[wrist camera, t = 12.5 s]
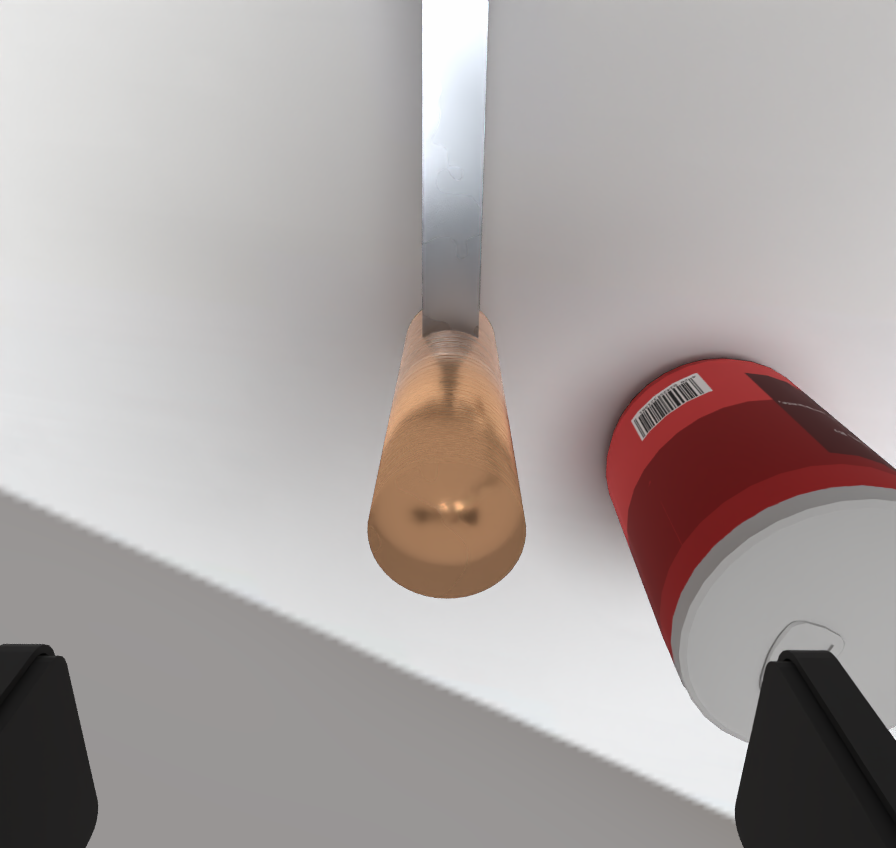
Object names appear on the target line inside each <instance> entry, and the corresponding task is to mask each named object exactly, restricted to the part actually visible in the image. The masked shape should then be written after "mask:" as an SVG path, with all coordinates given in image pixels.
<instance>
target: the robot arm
mask: <svg viewBox="0 0 896 848" xmlns="http://www.w3.org/2000/svg"><path fill="white" fill-rule="evenodd" d="M97 814H98V800H97V796H96V791H95V788H94V783H93V779H92V774H91V769H90V765H89V760H88V756H87V751H86V747H85V743H84V738H83V734H82V730H81V725H80V720H79V716H78V711H77V708H76V703H75V698H74V694H73V689H72V685H71V680H70V676H69V672H68V667H67V663H66V661H65V659H64V658H63V657H62V656H55V654H54V651H53V649H52V648H51V647H50V646H49V645H45V644H3V645H0V848H86V846H87V844H88V842H89V840H90V837H91V835H92V833H93V830H94V828H95V825H96V821H97ZM735 820H736V826H737V831H738V834H739V837H740V840H741V842H742V845H743V847H744V848H896V740H895V739H894V738H893V736H892V735H891V733H890V732H889V731H888V729H887V728H886V726H885V725H884V724H883V722H882V721H881V719H880V718H879V717H878V715H877V714H876V712H875V711H874V710H873V708H872V707H871V705H870V704H869V703H868V701H867V700H866V698H865V697H864V696H863V694H862V693H861V691H860V690H859V689H858V687H857V686H856V684H855V683H854V682H853V680H852V679H851V677H850V676H849V675H848V673H847V672H846V670H845V669H844V668H843V666H842V665H841V663H840V662H839V661H838V659H837V658H836V657H835V656H834V655H833V654H832V653H831V652H829V651H827V650H785V651H782V652H781V653H780V655H779V657H778V660H777V661H770V662H768V664H767V665H766V668H765V672H764V676H763V681H762V685H761V690H760V694H759V699H758V703H757V708H756V713H755V717H754V722H753V726H752V731H751V735H750V740H749V745H748V749H747V754H746V758H745V763H744V767H743V772H742V777H741V781H740V786H739V790H738V795H737V799H736V804H735Z"/></svg>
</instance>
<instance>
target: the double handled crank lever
mask: <svg viewBox="0 0 896 848" xmlns="http://www.w3.org/2000/svg"><path fill="white" fill-rule="evenodd" d="M488 6H489V0H422V310H421V311H420V312H419V313H418V314H417V315H416V316H415V317H414V319H413V320H412V322H411V324H410V326H409V328H408V331H407V335H406V340H405V345H404V350H403V354H402V359H401V364H400V369H399V374H398V379H397V384H396V388H395V393H394V398H393V403H392V408H391V413H390V417H389V422H388V427H387V432H386V437H385V442H384V447H383V451H382V456H381V461H380V466H379V471H378V476H377V480H376V485H375V490H374V495H373V500H372V505H371V510H370V514H369V519H368V531H367V532H368V541H369V544H370V548H371V551H372V553H373V556H374V558H375V559H376V561H377V563H378V564H379V566H380V567H381V568H382V570H383V571H384V572H385V573H386V574H387V575H388V576H389V577H390V578H391V579H392V580H394V581H395V582H396V583H398V584H399V585H401V586H403V587H404V588H406V589H408V590H410V591H413V592H415V593H418V594H421V595H424V596H429V597H434V598H460V597H466V596H470V595H474V594H477V593H479V592H482V591H484V590H486V589H488V588H490V587H492V586H494V585H495V584H496V583H498V582H499V581H501V580H502V579H503V578H504V577H505V576H506V575H507V574H508V573H509V572H510V571H511V570H512V569H513V567H514V566H515V564H516V563H517V561H518V560H519V557H520V555H521V553H522V551H523V547H524V544H525V537H526V523H525V517H524V511H523V505H522V499H521V493H520V487H519V481H518V475H517V469H516V463H515V457H514V451H513V445H512V438H511V432H510V426H509V420H508V414H507V408H506V402H505V396H504V390H503V384H502V378H501V372H500V366H499V360H498V354H497V348H496V342H495V336H494V331H493V328H492V326H491V324H490V322H489V320H488V319H487V317H486V316H485V315H484V314H483V313H482V312H481V311H480V310H479V301H480V268H481V236H482V203H483V170H484V137H485V105H486V72H487V39H488Z"/></svg>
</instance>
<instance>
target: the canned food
mask: <svg viewBox="0 0 896 848" xmlns="http://www.w3.org/2000/svg"><path fill="white" fill-rule="evenodd" d="M606 479H607V484H608V490H609V495H610V497H611V500H612V503H613V505H614V508H615V511H616V513H617V516H618V519H619V521H620V524H621V527H622V529H623V532H624V535H625V537H626V540H627V543H628V545H629V548H630V551H631V553H632V556H633V559H634V561H635V564H636V567H637V569H638V572H639V575H640V577H641V580H642V583H643V585H644V588H645V591H646V594H647V596H648V599H649V602H650V604H651V607H652V610H653V612H654V615H655V618H656V620H657V623H658V626H659V628H660V631H661V634H662V636H663V639H664V641H665V643H666V646H667V648H668V650H669V653H670V655H671V658H672V660H673V663H674V665H675V668H676V670H677V672H678V675H679V677H680V679H681V682H682V684H683V686H684V687H685V688H686V689H687V691H688V693H689V696H690V698H691V700H692V701H693V702H694V703H695V705H696V706H697V707H698V709H699V710H700V711H701V712H702V714H703V715H704V716H705V717H706V718H707V719H708V720H710V721H711V722H712V723H713V724H715V725H716V726H717V727H718V728H720V729H721V730H722V731H724V732H726V733H728V734H730V735H732V736H734V737H736V738H738V739H740V740H742V741H744V742H748V743H749V740H750V735H751V731H752V726H753V722H754V717H755V713H756V708H757V703H758V699H759V694H760V690H761V685H762V681H763V676H764V672H765V668H766V665H767V664H768V662H770V661H777V660H778V657H779V655H780V653H781V652H782V651H785V650H827V651H829V652H831V653H832V654H833V655H834V656H835V657H836V658H837V659H838V661H839V662H840V663H841V665H842V666H843V668H844V669H845V670H846V672H847V673H848V675H849V676H850V677H851V679H852V680H853V682H854V683H855V684H856V686H857V687H858V689H859V690H860V691H861V693H862V694H863V696H864V697H865V698H866V700H867V701H868V703H869V704H870V705H871V707H872V708H873V710H874V711H875V712H876V714H877V715H878V717H879V718H880V719H881V721H882V722H883V724H884V725H885V726H886V728H887V729H888V730H889V729H891V728H893V727H895V726H896V469H895V468H893V467H892V466H891V465H890V464H889V463H887V462H886V461H885V460H884V459H883V458H881V457H880V456H879V455H878V454H877V453H875V452H874V451H873V450H872V449H871V448H869V447H868V446H867V445H866V444H865V443H864V442H862V441H861V440H860V439H859V438H858V437H856V436H855V435H854V434H853V433H852V432H850V431H849V430H848V429H847V428H846V427H844V426H843V425H842V424H841V423H840V422H838V421H837V420H836V419H835V418H834V417H832V416H831V415H830V414H829V413H828V412H826V411H825V410H824V409H823V408H822V407H820V406H819V405H818V404H817V403H816V402H815V401H813V400H812V399H811V398H810V397H809V396H807V395H806V394H805V393H804V392H803V391H801V390H800V389H799V388H798V387H797V386H795V385H794V384H793V383H792V382H791V381H789V380H788V379H787V378H786V377H784V376H782V375H781V374H779V373H777V372H776V371H774V370H773V369H771V368H769V367H766V366H763V365H760V364H757V363H754V362H750V361H742V360H733V359H723V358H721V359H707V360H700V361H696V362H692V363H689V364H685V365H682V366H680V367H677V368H675V369H673V370H671V371H669V372H666V373H664V374H663V375H661V376H660V377H658V378H657V379H655V380H654V381H653V382H651V383H650V384H648V385H647V386H646V387H645V388H644V389H643V390H642V391H641V392H640V393H639V394H638V395H637V396H635V397H634V398H633V400H632V401H631V402H630V404H629V405H628V406H627V408H626V409H625V411H624V412H623V413H622V415H621V417H620V419H619V421H618V423H617V425H616V427H615V429H614V432H613V435H612V439H611V443H610V447H609V451H608V455H607V466H606Z"/></svg>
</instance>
